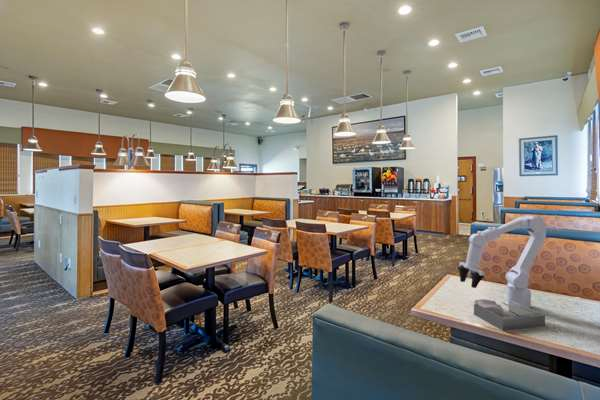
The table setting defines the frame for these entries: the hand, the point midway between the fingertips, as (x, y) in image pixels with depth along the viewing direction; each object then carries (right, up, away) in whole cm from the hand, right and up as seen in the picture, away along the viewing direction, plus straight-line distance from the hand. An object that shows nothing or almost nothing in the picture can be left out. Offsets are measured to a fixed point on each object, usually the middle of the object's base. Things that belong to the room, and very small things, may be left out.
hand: (468, 284), depth 152 cm
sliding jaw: (+15, -10, -17) cm, 25 cm away
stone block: (+3, -10, -10) cm, 14 cm away
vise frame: (+6, -10, -20) cm, 23 cm away
